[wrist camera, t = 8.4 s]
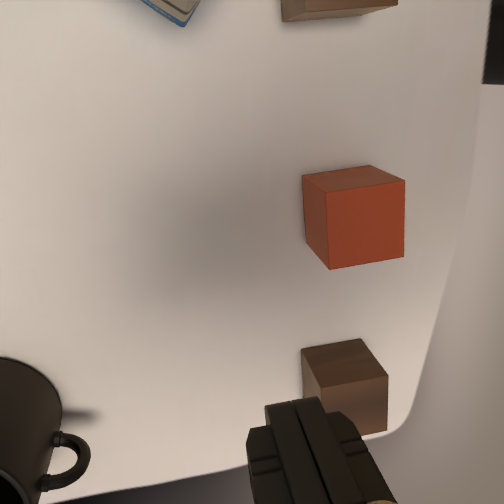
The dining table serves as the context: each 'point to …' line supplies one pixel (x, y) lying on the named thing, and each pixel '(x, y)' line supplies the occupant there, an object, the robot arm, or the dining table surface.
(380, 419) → the far block
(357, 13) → the near block
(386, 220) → the middle block
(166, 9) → the ink box
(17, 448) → the mug
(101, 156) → the dining table surface
